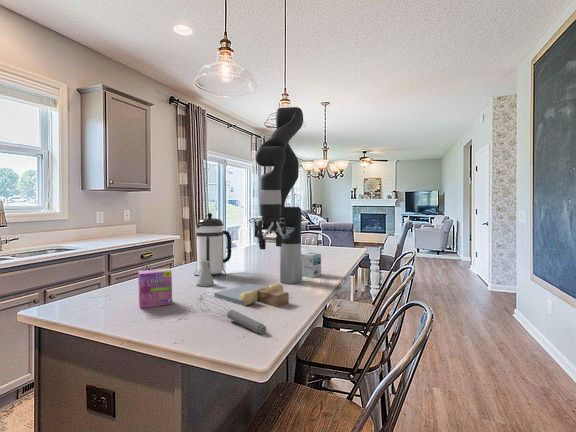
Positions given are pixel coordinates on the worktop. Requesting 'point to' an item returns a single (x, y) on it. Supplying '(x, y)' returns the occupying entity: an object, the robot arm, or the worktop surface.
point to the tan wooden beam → (272, 297)
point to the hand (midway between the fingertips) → (270, 247)
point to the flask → (205, 275)
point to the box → (155, 287)
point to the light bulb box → (311, 264)
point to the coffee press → (211, 244)
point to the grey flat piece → (244, 293)
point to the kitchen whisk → (240, 318)
